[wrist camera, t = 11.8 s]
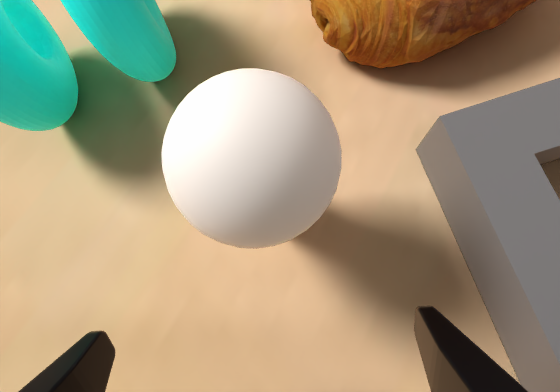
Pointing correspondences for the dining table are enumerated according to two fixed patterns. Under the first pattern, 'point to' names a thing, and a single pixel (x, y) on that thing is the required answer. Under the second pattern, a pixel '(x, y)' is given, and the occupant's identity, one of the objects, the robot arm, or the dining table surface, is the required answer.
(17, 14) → the cyan rounded piece
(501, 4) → the croissant
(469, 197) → the socket block
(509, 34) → the dining table surface
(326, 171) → the lightbulb
